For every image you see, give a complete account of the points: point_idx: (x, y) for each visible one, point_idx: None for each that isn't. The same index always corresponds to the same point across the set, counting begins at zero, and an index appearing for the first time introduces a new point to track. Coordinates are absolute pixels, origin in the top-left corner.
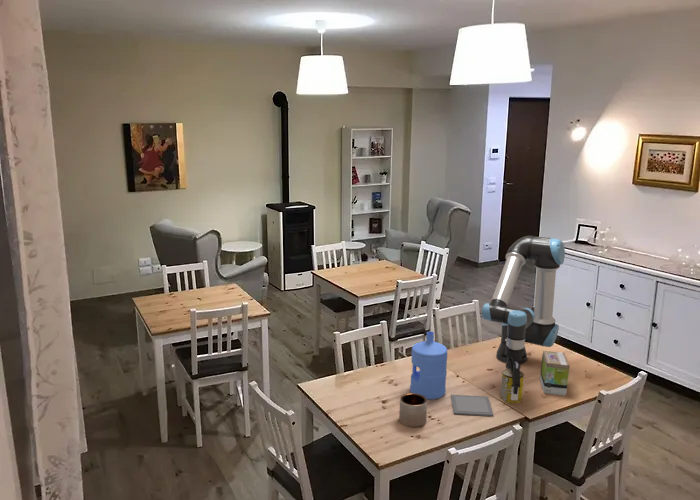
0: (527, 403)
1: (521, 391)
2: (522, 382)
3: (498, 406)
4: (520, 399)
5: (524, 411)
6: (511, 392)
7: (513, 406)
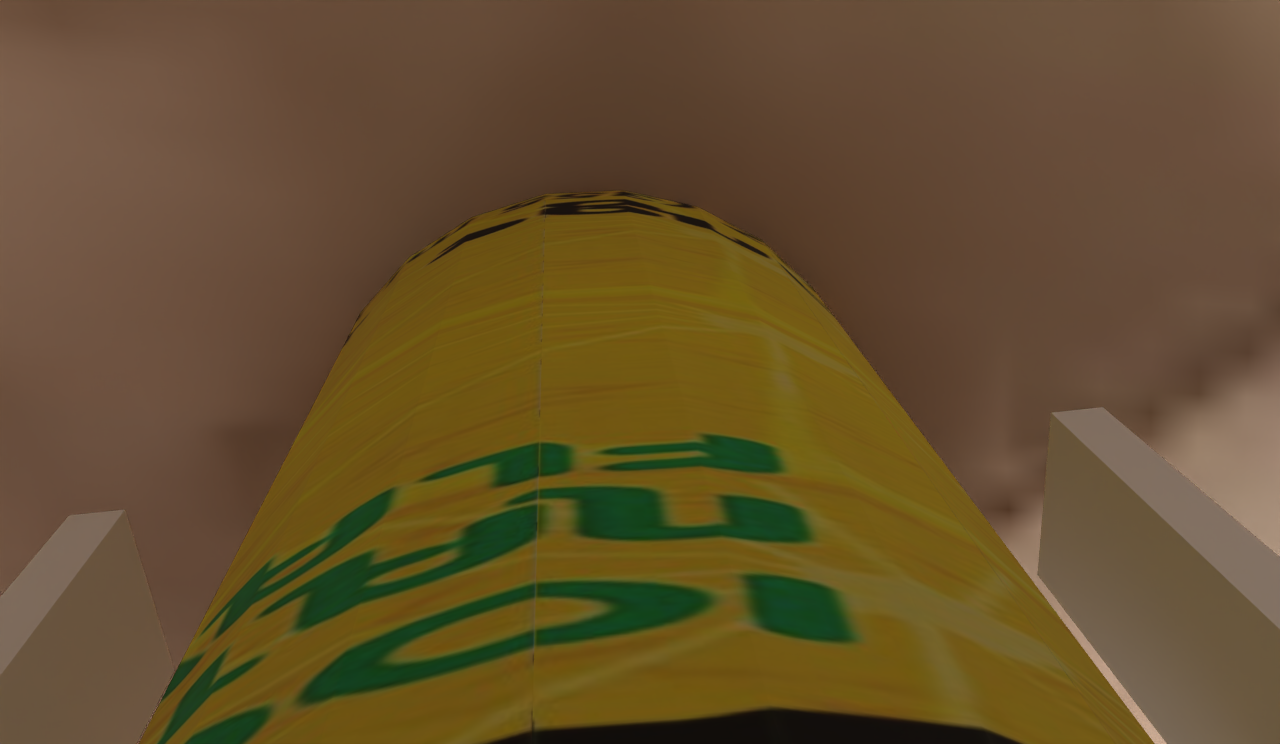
0: (821, 44)
1: (807, 334)
2: (896, 504)
3: None
4: (775, 260)
5: (1271, 180)
6: (1166, 722)
7: (1019, 421)
